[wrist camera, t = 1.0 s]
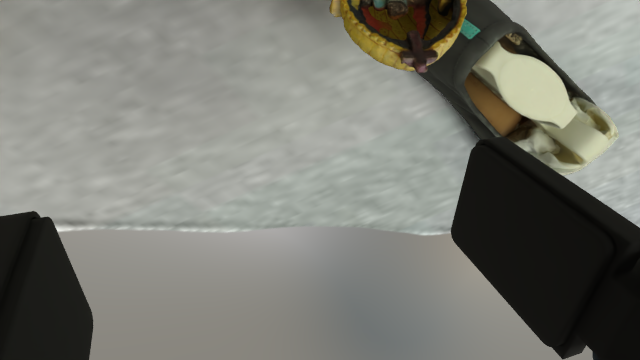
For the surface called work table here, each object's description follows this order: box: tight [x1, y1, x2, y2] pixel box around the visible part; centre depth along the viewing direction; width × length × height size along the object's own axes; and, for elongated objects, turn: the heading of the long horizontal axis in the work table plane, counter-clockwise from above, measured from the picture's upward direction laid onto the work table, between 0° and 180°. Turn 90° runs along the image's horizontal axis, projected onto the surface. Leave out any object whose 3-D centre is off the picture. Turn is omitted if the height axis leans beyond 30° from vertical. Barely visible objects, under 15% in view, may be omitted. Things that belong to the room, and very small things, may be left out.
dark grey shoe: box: [418, 0, 619, 175], centre depth 39 cm, size 10×30×10 cm, turn 55°
